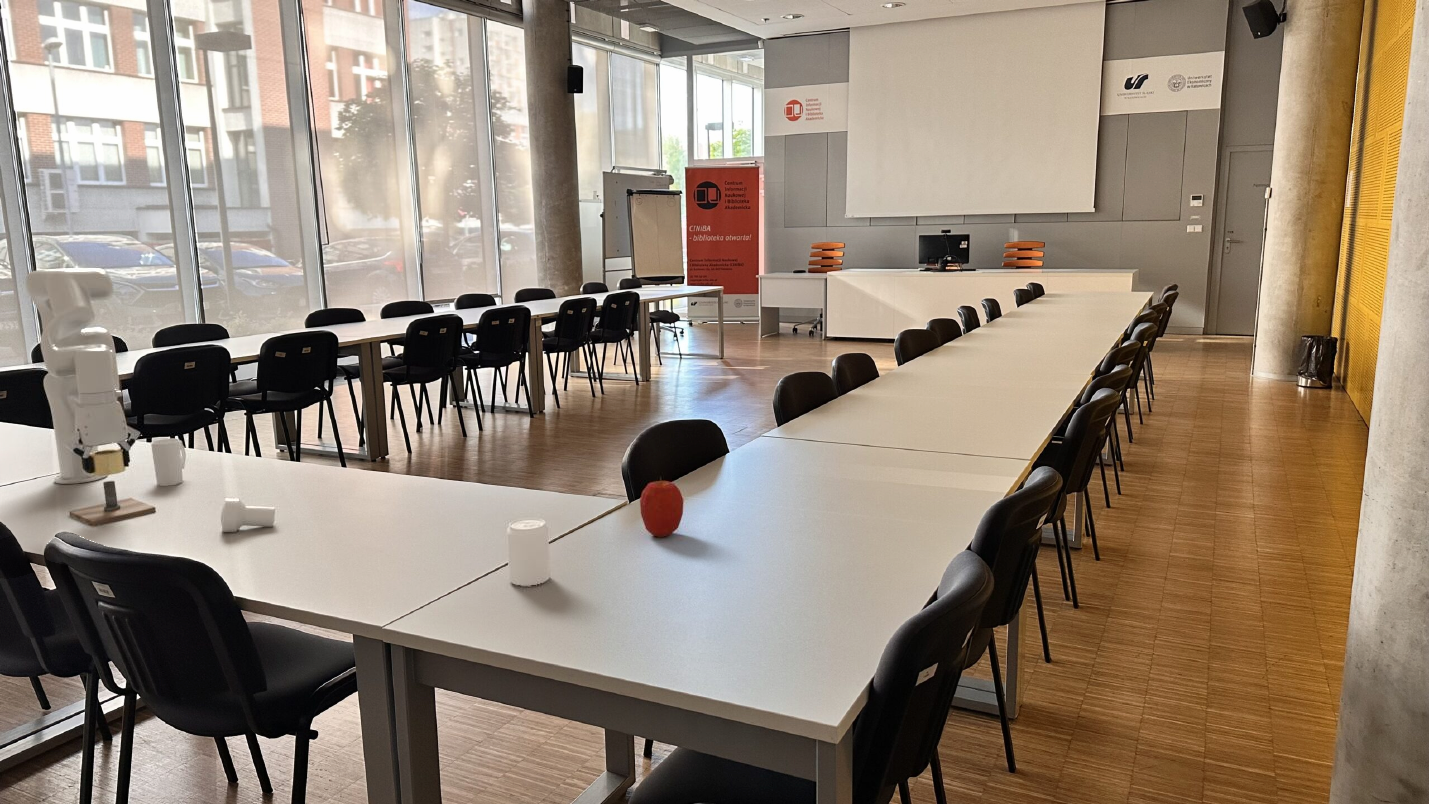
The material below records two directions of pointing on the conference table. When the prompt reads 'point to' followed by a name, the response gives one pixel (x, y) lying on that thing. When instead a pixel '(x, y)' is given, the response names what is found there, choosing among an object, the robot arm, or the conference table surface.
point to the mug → (168, 461)
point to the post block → (111, 508)
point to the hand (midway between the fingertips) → (107, 468)
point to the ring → (107, 462)
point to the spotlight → (244, 515)
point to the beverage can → (528, 552)
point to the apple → (661, 508)
